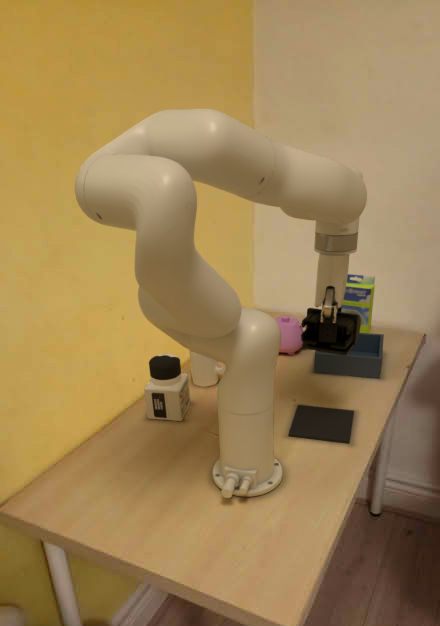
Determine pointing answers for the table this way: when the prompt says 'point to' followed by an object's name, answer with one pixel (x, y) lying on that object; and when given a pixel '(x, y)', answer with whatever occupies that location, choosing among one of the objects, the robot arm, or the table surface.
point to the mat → (322, 423)
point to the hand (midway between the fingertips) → (329, 332)
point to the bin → (354, 358)
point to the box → (360, 299)
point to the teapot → (290, 334)
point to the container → (167, 389)
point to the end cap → (345, 332)
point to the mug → (205, 370)
